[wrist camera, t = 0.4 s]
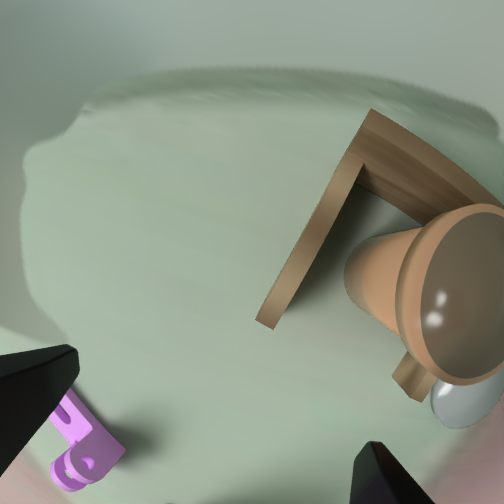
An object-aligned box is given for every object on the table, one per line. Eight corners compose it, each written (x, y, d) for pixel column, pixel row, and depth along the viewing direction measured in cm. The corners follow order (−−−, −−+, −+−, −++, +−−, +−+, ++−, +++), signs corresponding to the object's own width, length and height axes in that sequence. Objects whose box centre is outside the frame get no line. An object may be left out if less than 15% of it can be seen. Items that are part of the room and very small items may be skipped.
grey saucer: (484, 418, 18) (490, 423, 17) (416, 426, 19) (421, 432, 18) (513, 333, 18) (521, 336, 17) (448, 330, 19) (455, 333, 18)
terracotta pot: (409, 322, 20) (515, 381, 7) (330, 313, 20) (390, 386, 8) (423, 238, 20) (543, 224, 7) (345, 223, 20) (425, 183, 8)
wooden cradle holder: (402, 381, 20) (446, 430, 12) (260, 307, 21) (247, 338, 13) (472, 244, 19) (537, 240, 11) (342, 157, 20) (370, 108, 12)
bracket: (127, 449, 22) (94, 488, 15) (102, 464, 23) (70, 498, 16) (44, 349, 23) (-4, 366, 16) (27, 373, 23) (-15, 391, 17)
